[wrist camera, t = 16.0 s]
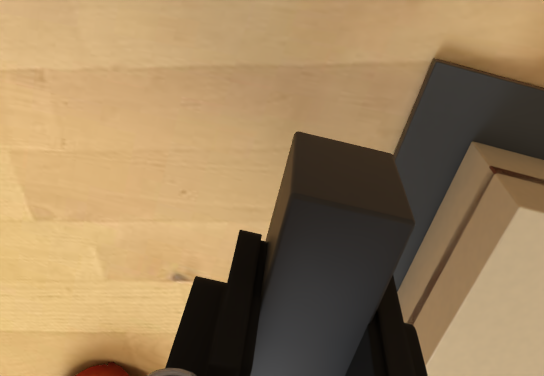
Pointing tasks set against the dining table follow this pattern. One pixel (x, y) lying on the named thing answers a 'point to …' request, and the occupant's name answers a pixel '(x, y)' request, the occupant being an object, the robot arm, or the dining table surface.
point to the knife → (328, 256)
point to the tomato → (104, 370)
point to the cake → (474, 223)
